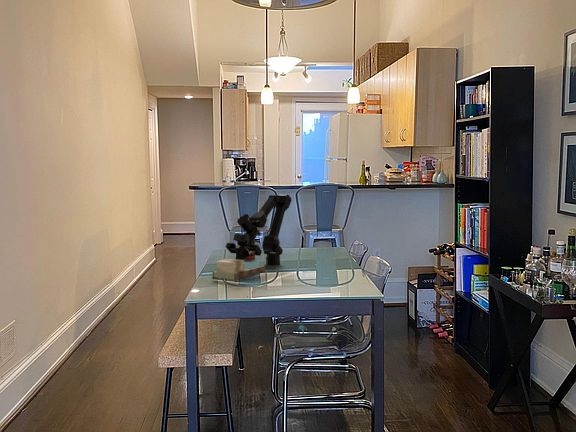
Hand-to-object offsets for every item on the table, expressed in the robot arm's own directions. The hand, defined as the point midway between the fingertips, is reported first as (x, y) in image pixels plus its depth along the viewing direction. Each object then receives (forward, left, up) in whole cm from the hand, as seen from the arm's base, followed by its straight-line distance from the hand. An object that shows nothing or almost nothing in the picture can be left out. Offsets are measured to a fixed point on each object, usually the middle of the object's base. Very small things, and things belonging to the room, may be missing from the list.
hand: (236, 263), depth 271 cm
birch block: (+4, +2, -6) cm, 7 cm away
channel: (-2, -1, -7) cm, 7 cm away
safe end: (+3, +2, -7) cm, 8 cm away
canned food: (-20, -46, -7) cm, 50 cm away
